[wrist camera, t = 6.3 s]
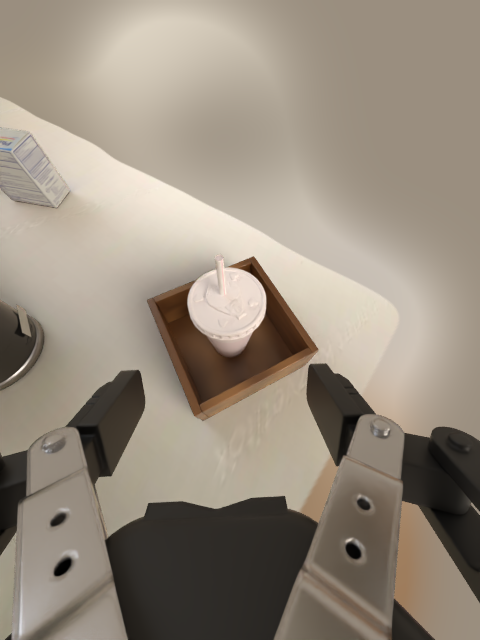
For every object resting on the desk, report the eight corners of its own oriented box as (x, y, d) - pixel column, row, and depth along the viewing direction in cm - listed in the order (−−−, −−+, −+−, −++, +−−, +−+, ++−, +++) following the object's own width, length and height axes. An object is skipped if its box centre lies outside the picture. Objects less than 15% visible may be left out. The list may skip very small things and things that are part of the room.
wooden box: (202, 421, 25) (194, 416, 20) (161, 322, 29) (146, 299, 25) (304, 365, 27) (319, 350, 22) (251, 283, 32) (254, 255, 27)
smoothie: (235, 307, 30) (233, 212, 17) (269, 346, 28) (296, 270, 15) (191, 337, 28) (154, 256, 16) (224, 381, 26) (211, 328, 13)
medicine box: (72, 191, 39) (31, 130, 32) (57, 209, 38) (10, 150, 30) (28, 183, 40) (-22, 122, 32) (11, 201, 38) (-47, 141, 30)
